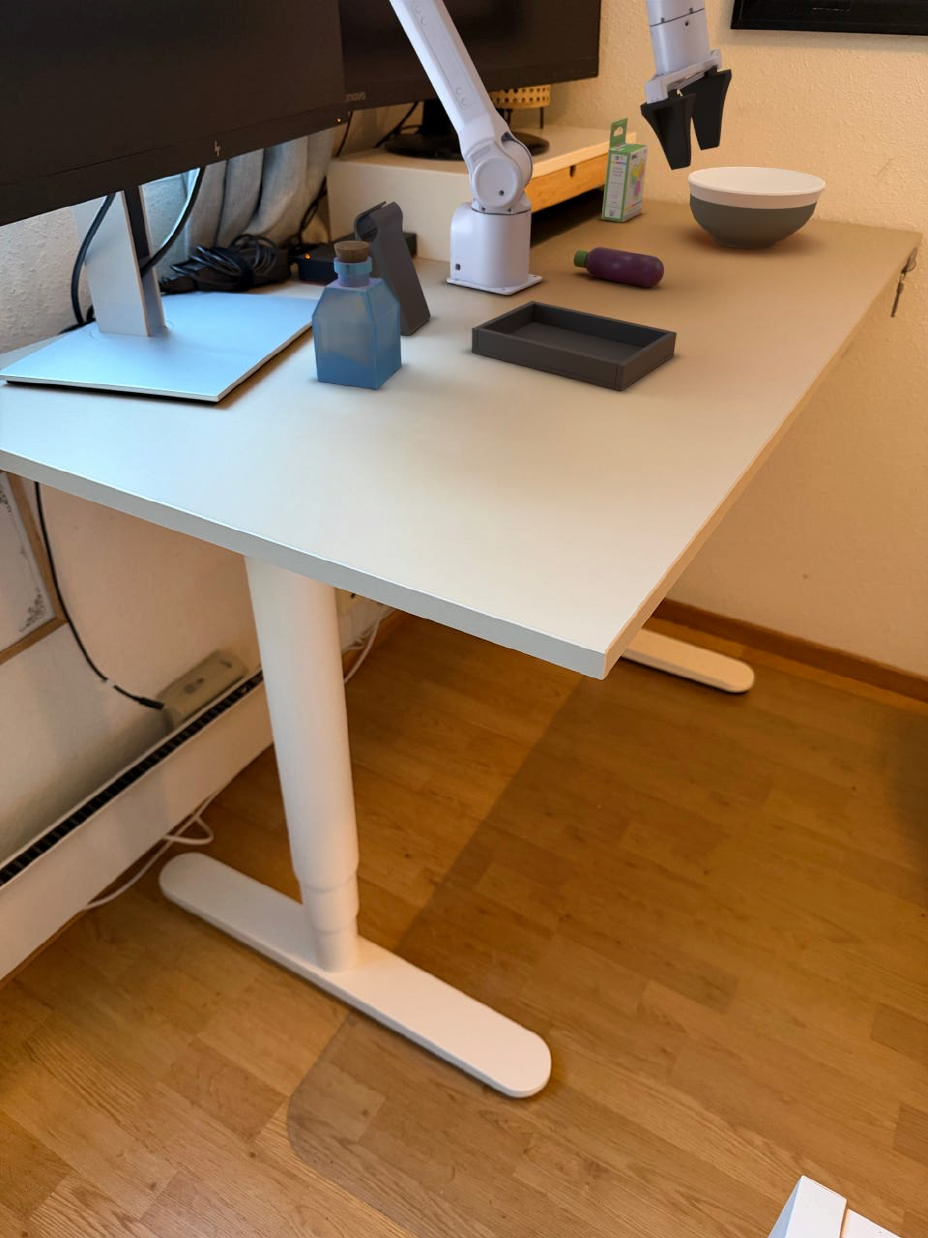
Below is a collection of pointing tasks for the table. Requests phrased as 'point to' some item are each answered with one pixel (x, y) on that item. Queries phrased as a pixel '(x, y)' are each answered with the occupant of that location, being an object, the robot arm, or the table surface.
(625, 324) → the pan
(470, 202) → the robot arm
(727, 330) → the table surface
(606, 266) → the eggplant
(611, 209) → the green white box
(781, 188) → the bowl
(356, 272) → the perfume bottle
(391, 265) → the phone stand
